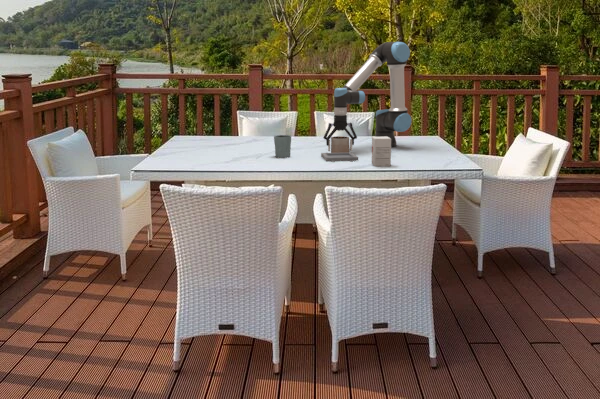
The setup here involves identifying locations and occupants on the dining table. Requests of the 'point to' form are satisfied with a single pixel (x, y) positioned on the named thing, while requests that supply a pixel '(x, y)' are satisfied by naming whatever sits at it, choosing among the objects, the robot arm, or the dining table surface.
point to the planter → (339, 144)
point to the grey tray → (339, 156)
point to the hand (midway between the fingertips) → (340, 150)
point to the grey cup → (282, 146)
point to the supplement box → (381, 151)
